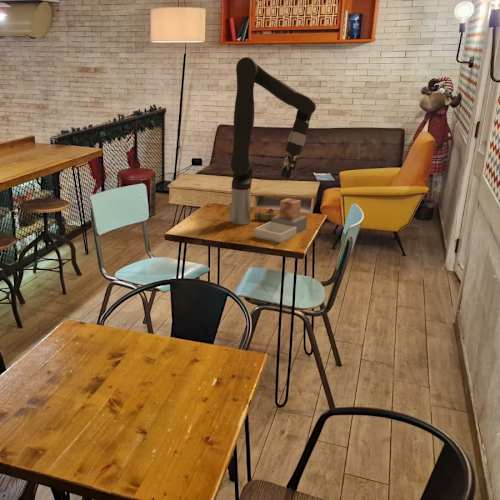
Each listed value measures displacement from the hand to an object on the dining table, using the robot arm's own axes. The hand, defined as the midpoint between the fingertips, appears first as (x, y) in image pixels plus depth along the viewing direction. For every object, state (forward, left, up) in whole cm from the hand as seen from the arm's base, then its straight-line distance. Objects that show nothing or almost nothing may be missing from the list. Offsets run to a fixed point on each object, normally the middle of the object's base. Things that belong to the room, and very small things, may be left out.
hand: (284, 177), depth 219 cm
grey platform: (+4, 0, -24) cm, 24 cm away
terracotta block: (+4, 0, -18) cm, 19 cm away
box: (+4, -13, -24) cm, 28 cm away
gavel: (-16, +13, -25) cm, 32 cm away
